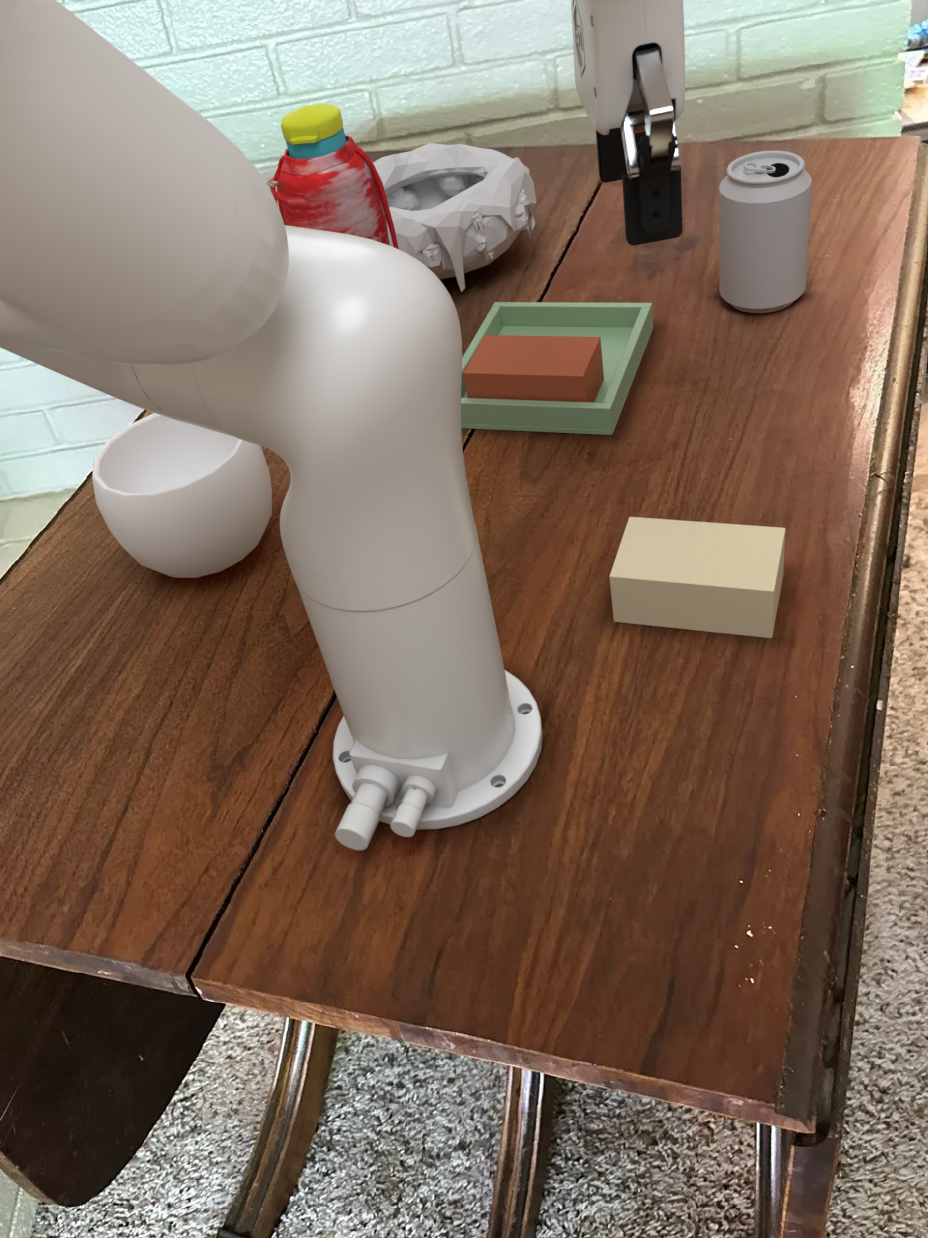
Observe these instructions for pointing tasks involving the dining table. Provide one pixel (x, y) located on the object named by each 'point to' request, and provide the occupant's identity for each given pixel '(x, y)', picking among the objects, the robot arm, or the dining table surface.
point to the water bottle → (329, 178)
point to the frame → (612, 322)
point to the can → (764, 231)
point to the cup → (182, 495)
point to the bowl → (456, 205)
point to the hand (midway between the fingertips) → (638, 206)
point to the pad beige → (698, 576)
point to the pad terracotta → (536, 368)
